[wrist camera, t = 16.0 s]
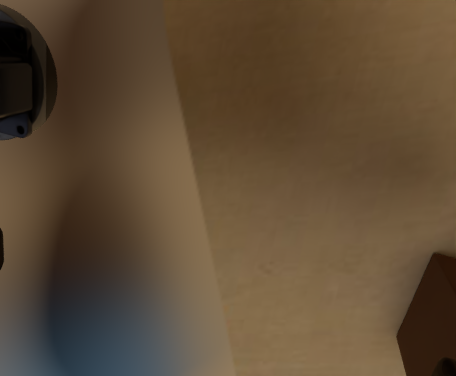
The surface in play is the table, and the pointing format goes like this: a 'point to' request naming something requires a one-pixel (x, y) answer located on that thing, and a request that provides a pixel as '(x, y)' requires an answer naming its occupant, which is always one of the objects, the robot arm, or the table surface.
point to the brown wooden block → (430, 319)
